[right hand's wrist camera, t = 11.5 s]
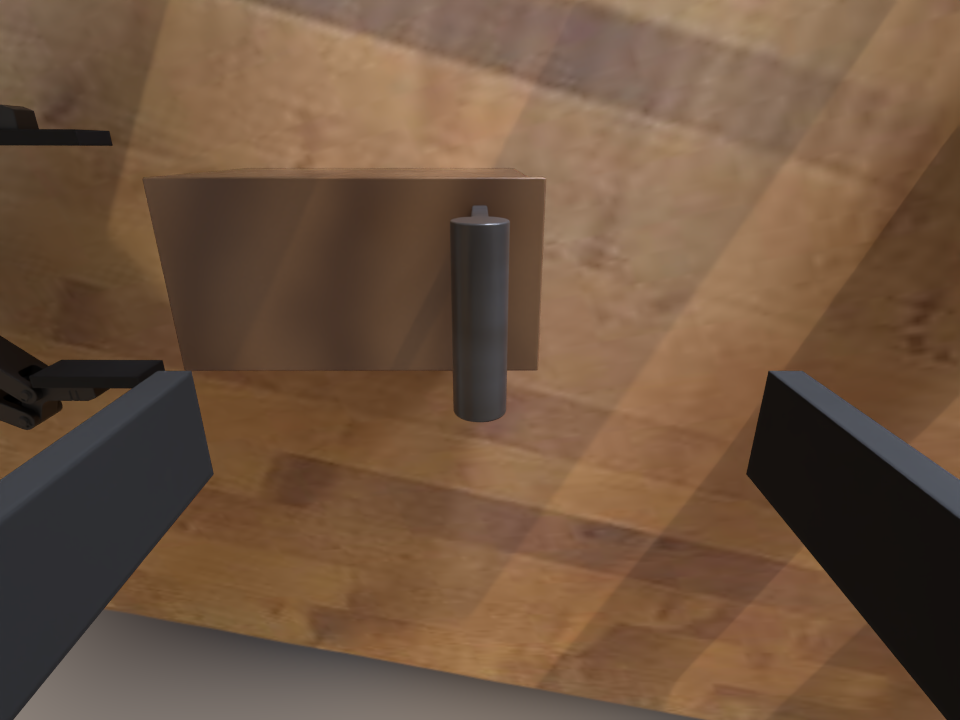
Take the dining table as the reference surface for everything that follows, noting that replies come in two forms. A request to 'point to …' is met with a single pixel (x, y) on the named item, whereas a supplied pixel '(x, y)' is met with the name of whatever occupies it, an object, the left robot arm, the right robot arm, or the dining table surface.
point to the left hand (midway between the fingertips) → (126, 265)
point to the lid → (356, 275)
